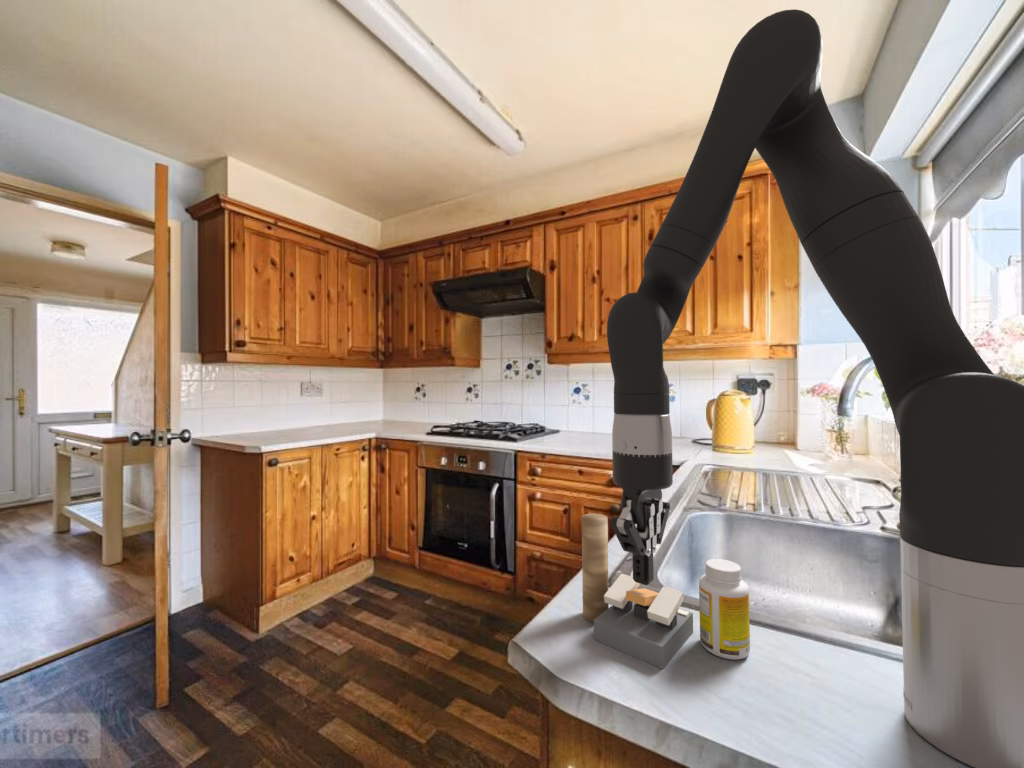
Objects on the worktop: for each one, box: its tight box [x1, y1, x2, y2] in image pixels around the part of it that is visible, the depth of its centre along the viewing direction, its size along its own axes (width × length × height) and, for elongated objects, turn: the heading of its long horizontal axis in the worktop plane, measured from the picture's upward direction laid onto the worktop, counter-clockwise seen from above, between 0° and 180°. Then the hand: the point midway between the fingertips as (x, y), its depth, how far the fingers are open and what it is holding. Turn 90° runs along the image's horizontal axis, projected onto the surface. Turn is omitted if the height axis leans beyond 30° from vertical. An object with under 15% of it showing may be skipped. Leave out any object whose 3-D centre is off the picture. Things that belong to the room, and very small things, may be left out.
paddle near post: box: [604, 573, 641, 609], centre depth 58 cm, size 3×5×1 cm, turn 138°
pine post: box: [581, 513, 610, 624], centre depth 60 cm, size 4×4×14 cm
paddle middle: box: [626, 587, 659, 607], centre depth 56 cm, size 3×5×2 cm, turn 138°
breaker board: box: [593, 601, 694, 670], centre depth 56 cm, size 9×10×4 cm
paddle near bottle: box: [647, 585, 685, 626], centre depth 54 cm, size 3×5×2 cm, turn 138°
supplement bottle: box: [698, 558, 751, 661], centre depth 53 cm, size 6×6×10 cm
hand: (643, 581), depth 56 cm, fingers closed
